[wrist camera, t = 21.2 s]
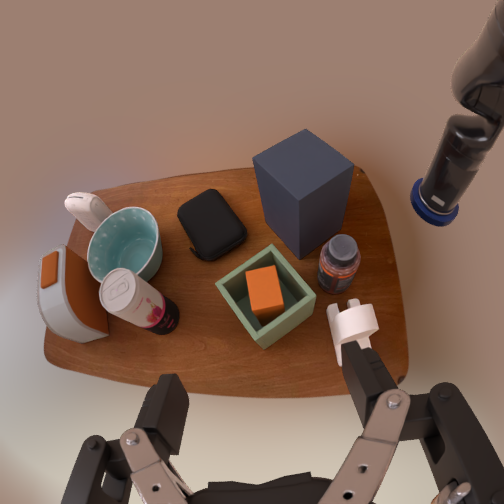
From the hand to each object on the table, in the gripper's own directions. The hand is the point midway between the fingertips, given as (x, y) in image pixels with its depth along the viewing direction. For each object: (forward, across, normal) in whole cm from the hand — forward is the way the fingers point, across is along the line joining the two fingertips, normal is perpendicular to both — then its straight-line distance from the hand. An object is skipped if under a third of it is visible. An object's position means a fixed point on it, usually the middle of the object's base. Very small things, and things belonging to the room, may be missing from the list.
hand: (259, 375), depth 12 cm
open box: (+30, 0, +13) cm, 33 cm away
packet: (+29, 0, +13) cm, 32 cm away
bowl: (+40, +24, +4) cm, 47 cm away
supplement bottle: (+32, -12, +12) cm, 36 cm away
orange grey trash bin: (+35, +36, +9) cm, 51 cm away
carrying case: (+43, +8, +1) cm, 44 cm away
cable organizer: (+25, -11, +18) cm, 33 cm away
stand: (+40, -9, +4) cm, 41 cm away
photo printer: (+48, +34, -5) cm, 59 cm away
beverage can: (+32, +19, +12) cm, 39 cm away
